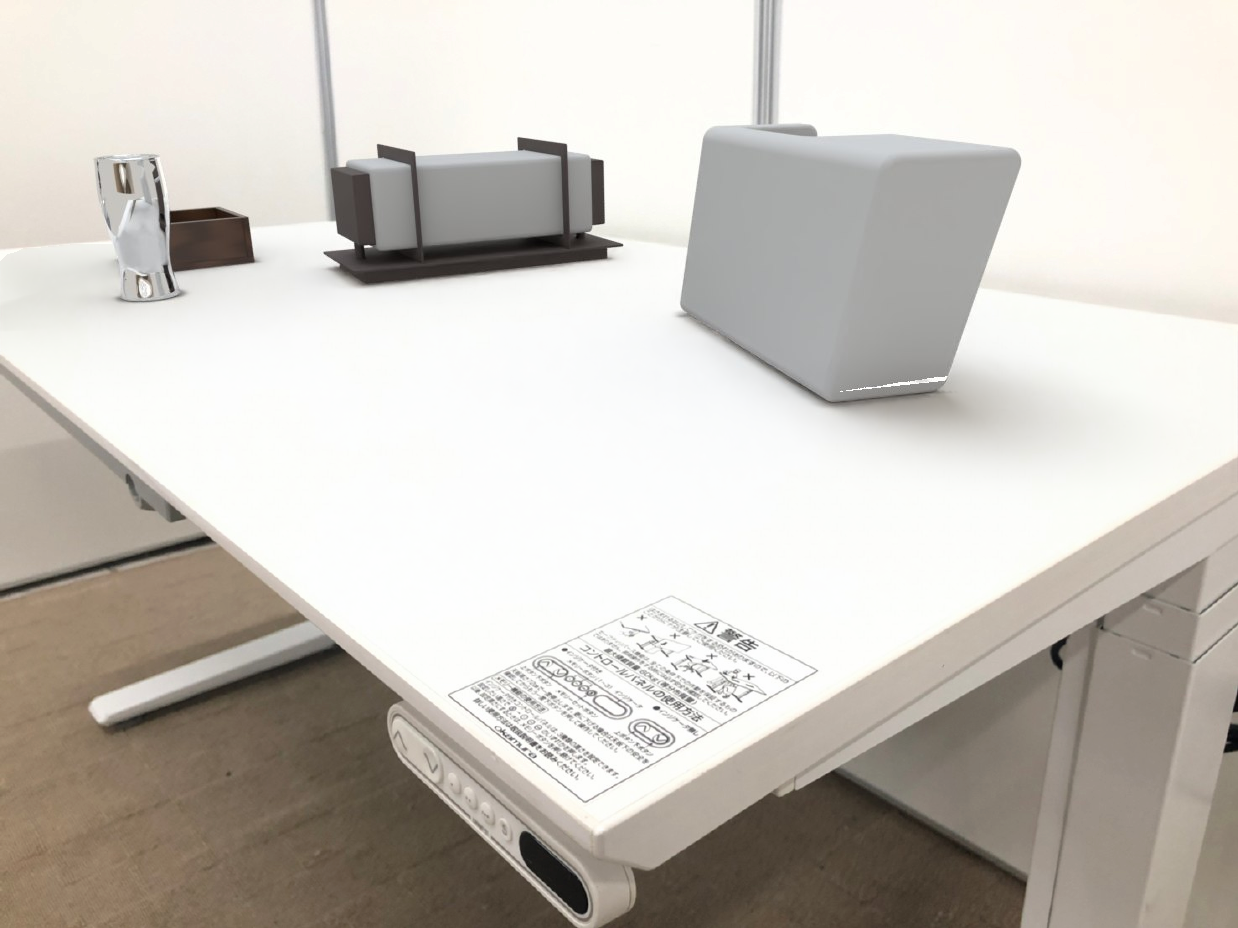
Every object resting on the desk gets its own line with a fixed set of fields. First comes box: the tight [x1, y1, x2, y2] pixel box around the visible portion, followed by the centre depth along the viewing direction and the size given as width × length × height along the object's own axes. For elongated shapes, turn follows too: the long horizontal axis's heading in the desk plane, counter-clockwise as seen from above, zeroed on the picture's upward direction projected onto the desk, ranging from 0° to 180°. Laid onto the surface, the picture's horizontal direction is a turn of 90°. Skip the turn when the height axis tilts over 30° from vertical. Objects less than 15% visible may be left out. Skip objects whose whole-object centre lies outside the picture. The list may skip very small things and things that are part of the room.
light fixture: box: [322, 136, 624, 285], centre depth 132 cm, size 15×15×35 cm
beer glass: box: [93, 153, 181, 302], centre depth 115 cm, size 7×7×15 cm
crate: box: [170, 206, 256, 272], centre depth 138 cm, size 14×14×6 cm
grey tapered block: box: [679, 122, 1022, 403], centre depth 87 cm, size 30×10×30 cm, turn 16°
